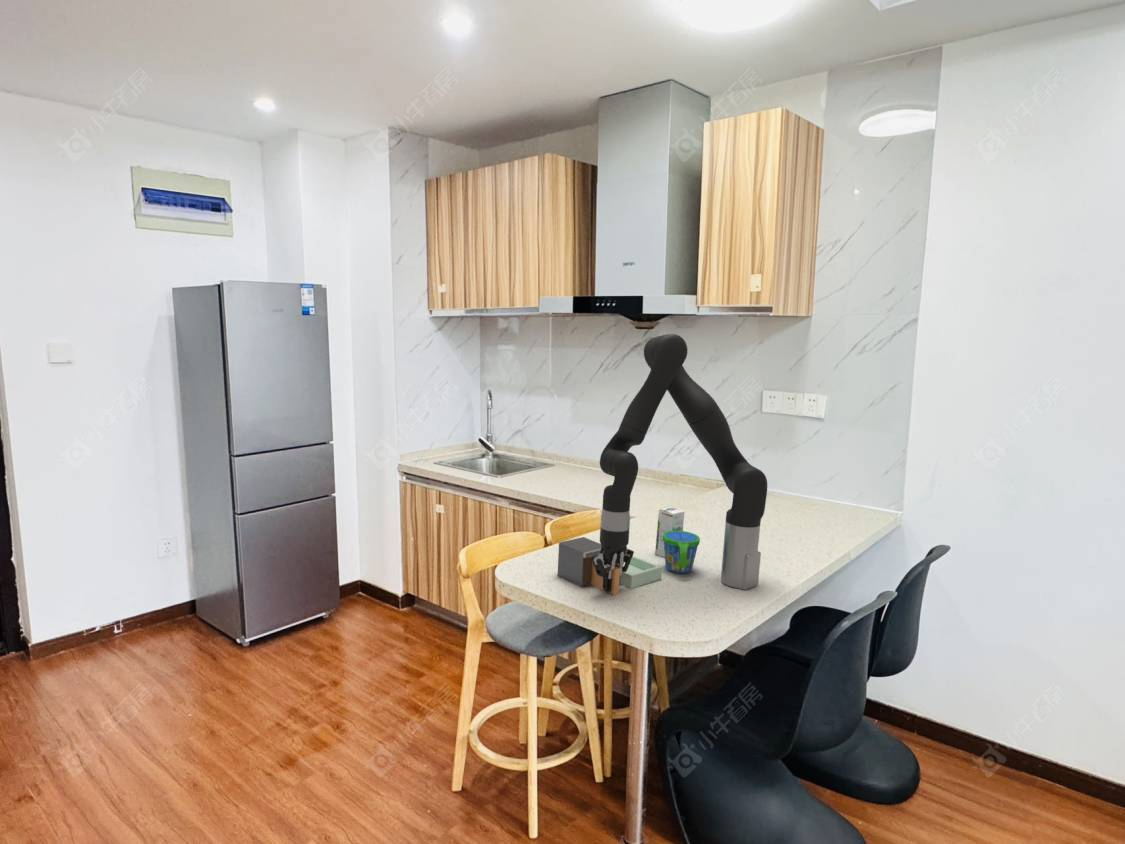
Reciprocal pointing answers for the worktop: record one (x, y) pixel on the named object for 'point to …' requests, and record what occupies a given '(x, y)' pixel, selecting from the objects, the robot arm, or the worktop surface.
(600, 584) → the brown rectangular block
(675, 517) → the syrup box
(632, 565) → the tray
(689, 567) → the snack cup
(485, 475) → the worktop surface
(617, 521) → the robot arm
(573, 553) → the box
